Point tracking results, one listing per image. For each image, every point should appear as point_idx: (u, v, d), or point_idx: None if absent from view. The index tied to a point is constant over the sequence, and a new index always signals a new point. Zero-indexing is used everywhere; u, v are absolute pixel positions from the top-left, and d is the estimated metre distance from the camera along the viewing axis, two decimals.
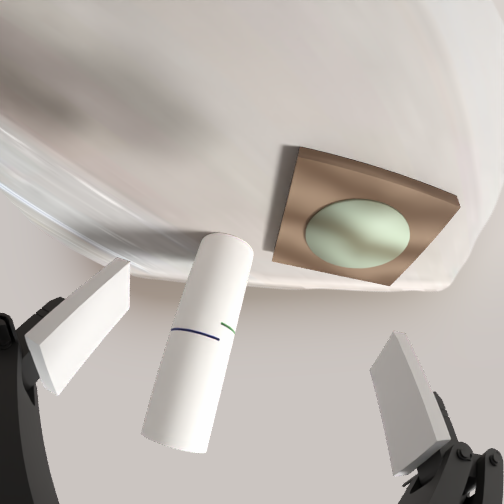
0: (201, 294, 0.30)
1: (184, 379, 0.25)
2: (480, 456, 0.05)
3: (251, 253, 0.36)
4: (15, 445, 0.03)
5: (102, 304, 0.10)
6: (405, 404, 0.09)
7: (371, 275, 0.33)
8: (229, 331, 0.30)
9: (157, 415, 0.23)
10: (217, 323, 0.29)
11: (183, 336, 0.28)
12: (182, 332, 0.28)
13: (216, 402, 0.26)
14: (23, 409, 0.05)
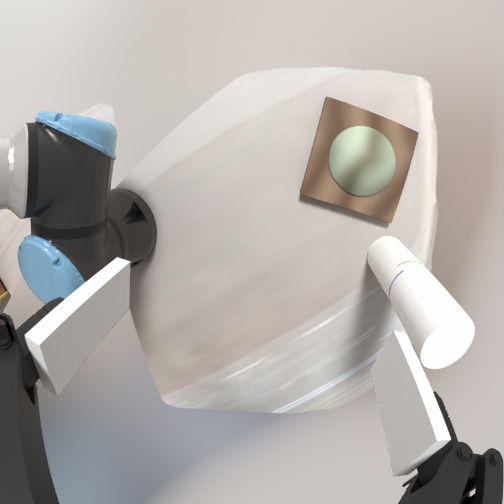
0: (381, 275, 0.39)
1: (404, 303, 0.30)
2: (480, 456, 0.05)
3: (387, 237, 0.45)
4: (15, 445, 0.03)
5: (102, 304, 0.10)
6: (405, 404, 0.09)
7: (405, 148, 0.38)
8: (406, 263, 0.35)
9: (412, 337, 0.27)
10: (395, 268, 0.36)
11: (390, 295, 0.35)
12: (389, 295, 0.35)
13: (437, 289, 0.27)
14: (23, 409, 0.05)
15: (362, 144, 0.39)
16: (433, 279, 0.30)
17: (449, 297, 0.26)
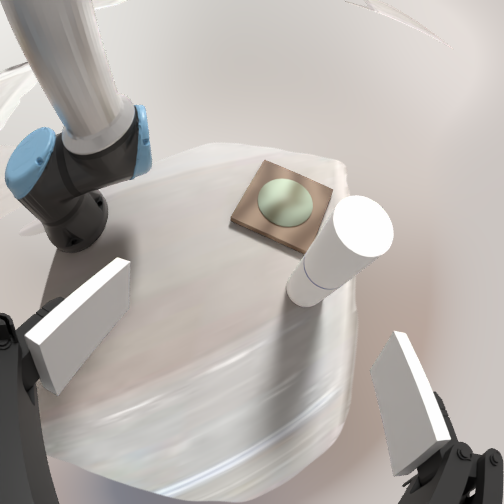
0: (297, 268, 0.43)
1: (315, 238, 0.35)
2: (480, 456, 0.05)
3: None
4: (15, 445, 0.03)
5: (102, 304, 0.10)
6: (405, 404, 0.09)
7: (321, 198, 0.57)
8: None
9: (325, 236, 0.30)
10: None
11: (305, 260, 0.38)
12: (304, 263, 0.39)
13: None
14: (23, 409, 0.05)
15: (286, 190, 0.56)
16: None
17: None
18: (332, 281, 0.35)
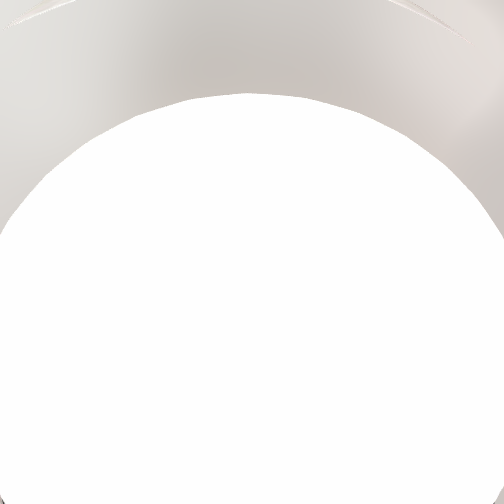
0: None
1: None
2: None
3: None
4: None
5: None
6: None
7: None
8: None
9: None
10: None
11: None
12: None
13: None
14: None
15: None
16: None
17: None
18: None
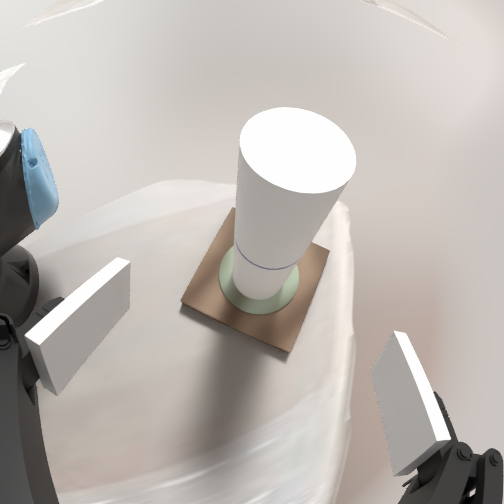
0: None
1: None
2: (480, 456, 0.05)
3: None
4: (15, 445, 0.03)
5: (102, 304, 0.10)
6: (405, 404, 0.09)
7: (312, 266, 0.40)
8: None
9: (238, 172, 0.18)
10: None
11: None
12: None
13: None
14: (23, 409, 0.05)
15: None
16: None
17: None
18: (269, 254, 0.23)
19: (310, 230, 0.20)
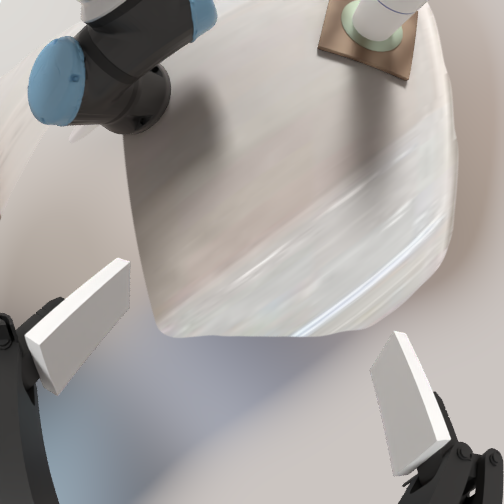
0: None
1: None
2: (480, 456, 0.05)
3: None
4: (15, 445, 0.03)
5: (102, 304, 0.10)
6: (405, 404, 0.09)
7: (409, 21, 0.30)
8: None
9: None
10: None
11: None
12: None
13: None
14: (23, 409, 0.05)
15: None
16: None
17: None
18: (407, 2, 0.18)
19: None
